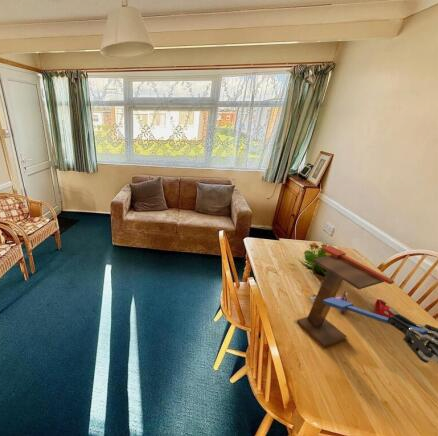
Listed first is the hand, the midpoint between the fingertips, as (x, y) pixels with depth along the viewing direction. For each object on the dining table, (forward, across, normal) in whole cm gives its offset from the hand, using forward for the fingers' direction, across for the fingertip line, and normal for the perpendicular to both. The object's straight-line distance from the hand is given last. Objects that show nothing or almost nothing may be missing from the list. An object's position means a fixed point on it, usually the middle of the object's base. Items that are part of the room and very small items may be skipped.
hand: (392, 317), depth 59 cm
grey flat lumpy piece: (+32, +30, -35) cm, 56 cm away
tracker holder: (+18, +53, -35) cm, 65 cm away
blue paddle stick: (+5, 0, -4) cm, 6 cm away
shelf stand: (+20, +16, -34) cm, 43 cm away
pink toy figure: (+27, +36, -35) cm, 57 cm away
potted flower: (+46, +51, -34) cm, 77 cm away
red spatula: (+22, +20, -2) cm, 30 cm away
